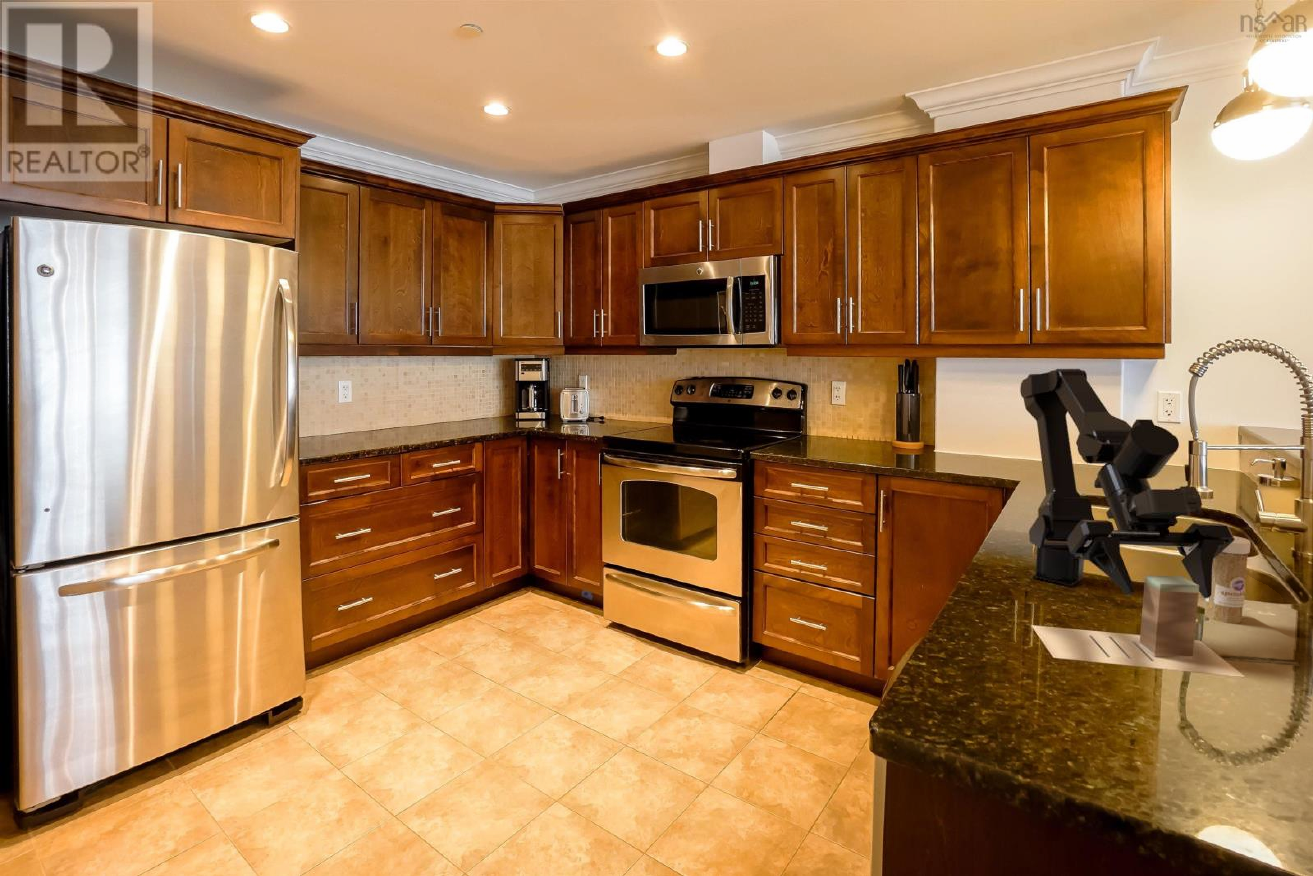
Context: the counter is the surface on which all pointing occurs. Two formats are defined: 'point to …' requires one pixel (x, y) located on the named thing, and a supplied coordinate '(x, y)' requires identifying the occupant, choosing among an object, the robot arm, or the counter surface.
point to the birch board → (1126, 651)
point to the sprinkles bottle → (1228, 583)
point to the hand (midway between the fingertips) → (1169, 595)
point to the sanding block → (1169, 616)
